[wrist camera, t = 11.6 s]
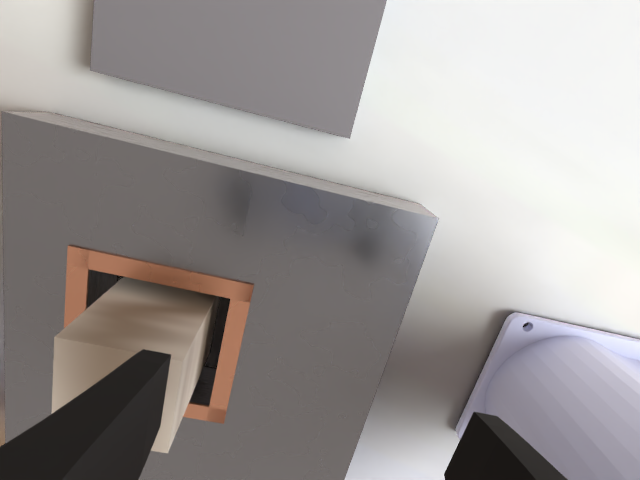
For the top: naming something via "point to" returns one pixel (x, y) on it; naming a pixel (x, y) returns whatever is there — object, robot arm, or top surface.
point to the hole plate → (210, 287)
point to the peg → (138, 343)
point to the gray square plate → (245, 53)
